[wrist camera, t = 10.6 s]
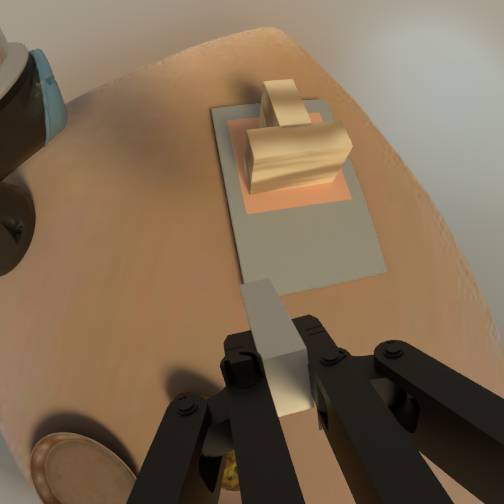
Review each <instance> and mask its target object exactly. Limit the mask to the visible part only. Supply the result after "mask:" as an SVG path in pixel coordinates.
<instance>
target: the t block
mask: <svg viewBox="0 0 504 504" xmlns="http://www.w3.org/2000/svg"><path fill="white" fill-rule="evenodd" d="M258 124H259V127H260V128H258V129H251V130H246V143H245V156H244V174H245V178H246V182H247V186H248V190H249V194H250V195H254V194H259V193H265V192H271V191H277V190H284V189H290V188H296V187H303V186H310V185H316V184H323V183H330V182H333V181H334V179H335V177H336V176H337V174H338V172H339V170H340V168H341V167H342V165H343V163H344V161H345V160H346V158H347V156H348V154H349V152H350V151H351V149H352V147H353V145H352V143H351V141H350V139H349V136H348V134H347V132H346V130H345V128H344V125H343V123H342V121H329V122H316V123H312V122H311V120H310V117H309V115H308V113H307V110H306V108H305V106H304V103H303V101H302V99H301V97H300V94H299V92H298V90H297V88H296V86H295V83H294V81H293V79H288V80H273V81H264V82H263V90H262V98H261V106H260V114H259V122H258Z"/></svg>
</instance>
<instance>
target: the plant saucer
mask: <svg viewBox="0 0 504 504" xmlns="http://www.w3.org/2000/svg"><path fill="white" fill-rule="evenodd" d="M29 466H30V467H29V469H30V476H31V480H32V483H33V486H34V488H35V491H36V493H37V495H38V496H39V498H40V500H41V501H42V503H43V504H126V502H127V500H128V498H129V495H130V493H131V491H132V488H133V486H134V484H135V481H136V479H137V478H136V476H135V475H134V473H133V472H132V471H131V469H130V468H129V467H128V466H127V465H126V463H125V462H124V461H123V460H122V459H121V458H120V457H118V456H117V455H116V454H115V453H114V452H113V451H111V450H110V449H108V448H107V447H105V446H104V445H102V444H101V443H99V442H97V441H95V440H93V439H91V438H89V437H86V436H83V435H80V434H76V433H70V432H57V433H52V434H49V435H47V436H45V437H43V438H42V439H40V440H39V441H38V442H37V443H36V445H35V446H34V448H33V450H32V453H31V456H30V463H29Z"/></svg>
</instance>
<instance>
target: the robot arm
mask: <svg viewBox="0 0 504 504" xmlns="http://www.w3.org/2000/svg"><path fill="white" fill-rule="evenodd" d="M66 123H67V111H66V107H65V104H64V101H63V98H62V95H61V93H60V90H59V87H58V85H57V82H56V81H55V80H54V75H53V73H52V70H51V67H50V65H49V63H48V60H47V58H46V56H45V54H44V53H43V51H42V50H41V49H36V50H32V51H30V52H29V51H28V49H27V47H26V46H25V45H23V44H22V43H17V42H11V43H10V42H7V40H6V38H5V36H4V34H3V32H2V30H1V28H0V276H3V275H5V274H7V273H8V272H10V271H11V270H12V269H14V268H15V267H16V266H17V264H18V263H19V262H20V261H21V259H22V258H23V257H24V255H25V253H26V251H27V249H28V247H29V245H30V243H31V240H32V236H33V233H34V227H35V210H34V206H33V203H32V201H31V199H30V198H29V196H28V195H27V194H26V193H24V192H23V191H22V190H21V189H20V188H19V187H17V186H15V185H12V184H8V183H4V182H1V181H2V180H3V179H4V178H6V177H7V176H8V175H9V174H10V173H11V172H13V171H14V170H15V169H16V168H17V167H18V166H20V165H21V164H22V163H23V162H24V161H26V160H27V159H28V158H29V157H31V156H32V155H33V154H34V153H36V152H37V151H38V150H40V149H41V148H42V147H45V146H46V145H47V144H48V142H49V141H50V140H51V139H52V138H53V137H55V136H56V135H57V134H58V133H59V132H61V131H62V130H63V128H64V127H65V125H66ZM240 289H241V294H242V298H243V303H244V307H245V311H246V316H247V320H248V324H249V329H250V330H249V331H245V332H241V333H236V334H232V335H228V336H227V338H226V340H225V341H224V350H225V357H224V358H223V359H222V361H221V363H220V368H221V371H222V374H223V378H224V381H225V384H226V387H225V388H224V389H223V390H222V391H221V392H220V393H218V394H217V395H215V396H213V397H210V398H208V399H206V400H205V398H204V397H202V396H200V395H197V394H187V395H183V396H180V397H178V398H176V399H175V400H173V401H172V402H171V403H170V405H169V406H168V407H167V410H166V412H165V414H164V417H163V419H162V421H161V423H160V426H159V428H158V430H157V433H156V435H155V437H154V439H153V442H152V444H151V446H150V449H149V451H148V453H147V456H146V458H145V460H144V463H143V465H142V467H141V470H140V472H139V474H138V477H137V479H136V481H135V484H134V486H133V488H132V491H131V493H130V495H129V498H128V500H127V502H126V504H218V500H219V495H220V490H221V485H222V481H223V476H224V471H225V466H226V461H227V457H228V456H227V453H228V452H230V451H233V450H234V452H235V459H236V466H237V473H238V480H239V486H240V493H241V499H242V504H305V501H304V498H303V495H302V492H301V489H300V486H299V482H298V479H297V476H296V473H295V470H294V466H293V463H292V460H291V457H290V454H289V450H288V447H287V444H286V441H285V437H284V434H283V431H282V428H281V424H280V421H279V418H278V417H280V416H284V415H288V414H292V413H295V412H299V411H303V410H306V409H310V408H313V407H314V402H313V399H314V401H315V404H316V406H317V413H318V422H319V430H322V427H323V429H324V432H325V434H326V436H327V438H328V441H329V443H330V445H331V448H332V450H333V452H334V454H335V457H336V459H337V461H338V463H339V466H340V468H341V470H342V473H343V475H344V477H345V479H346V482H347V484H348V486H349V488H350V491H351V493H352V495H353V497H354V500H355V502H356V504H454V503H453V501H452V500H451V498H450V497H449V495H448V494H447V492H446V491H445V489H444V488H443V486H442V485H441V483H440V482H439V480H438V479H437V478H436V476H435V475H434V473H433V472H432V470H431V469H430V467H429V466H428V464H427V463H426V461H425V460H424V458H423V457H422V456H421V454H420V453H419V451H420V452H421V453H422V454H423V455H424V456H426V457H427V458H428V459H429V460H431V461H432V462H433V463H434V464H435V465H437V466H438V467H439V468H440V469H442V470H443V471H444V472H445V473H447V474H448V475H449V476H450V477H451V478H453V479H454V480H455V481H456V482H458V483H459V484H460V485H462V486H463V487H464V488H465V489H467V490H468V491H469V492H470V493H472V494H473V495H474V496H476V497H477V498H478V499H479V500H481V501H482V502H483V503H485V504H504V399H503V398H501V397H499V396H498V395H496V394H494V393H493V392H491V391H489V390H487V389H486V388H484V387H482V386H481V385H479V384H477V383H475V382H474V381H472V380H470V379H468V378H467V377H465V376H463V375H462V374H460V373H458V372H456V371H455V370H453V369H451V368H449V367H448V366H446V365H444V364H443V363H441V362H439V361H437V360H436V359H434V358H432V357H430V356H429V355H427V354H425V353H424V352H422V351H420V350H418V349H417V348H415V347H413V346H412V345H410V344H408V343H406V342H403V341H400V340H389V341H385V342H383V343H380V344H379V345H378V346H377V347H376V348H375V350H374V355H368V356H351V354H350V353H349V352H348V351H347V350H345V349H342V348H339V347H337V346H336V344H335V343H334V341H333V340H332V338H331V337H330V335H329V334H328V333H327V331H326V330H325V328H324V327H323V326H322V324H321V322H320V321H319V320H318V319H317V318H315V317H313V316H311V315H306V316H302V317H298V318H294V319H291V318H290V316H289V314H288V312H287V310H286V309H285V307H284V305H283V303H282V301H281V299H280V297H279V295H278V294H277V292H276V290H275V288H274V286H273V284H272V282H271V281H270V279H269V278H267V279H262V280H258V281H254V282H249V283H245V284H241V285H240Z"/></svg>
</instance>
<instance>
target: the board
mask: <svg viewBox="0 0 504 504" xmlns="http://www.w3.org/2000/svg"><path fill="white" fill-rule="evenodd" d="M302 101H303V103H304V106H305V108H306V110H307V113H308V115H309V117H310V120H311V122H312V123H316V122H329V121H334V118H333V116H332V114H331V111H330V109H329V107H328V105H327V102H326V100H325V99H317V100H302ZM260 106H261V103H255V104H245V105H236V106H228V107H220V108H212V109H211V112H212V119H213V125H214V130H215V136H216V142H217V147H218V152H219V158H220V163H221V169H222V174H223V180H224V185H225V190H226V196H227V201H228V206H229V211H230V217H231V222H232V227H233V232H234V238H235V243H236V248H237V253H238V258H239V263H240V269H241V274H242V279H243V284H245V283H249V282H254V281H258V280H262V279H267V278H269V279H270V281H271V282H272V284H273V286H274V288H275V290H276V292H277V294H278V295H279V297H280V296H285V295H290V294H295V293H300V292H305V291H310V290H314V289H319V288H324V287H328V286H333V285H338V284H342V283H347V282H351V281H356V280H360V279H364V278H369V277H373V276H377V275H382V274H384V273H386V272H387V269H386V265H385V262H384V258H383V255H382V252H381V248H380V245H379V242H378V238H377V235H376V232H375V229H374V225H373V222H372V219H371V216H370V213H369V210H368V207H367V204H366V201H365V198H364V195H363V193H362V190H361V187H360V184H359V181H358V179H357V176H356V173H355V171H354V168H353V165H352V163H351V160H350V157H349V155H348V156H347V158H346V160H345V161H344V163H343V165H342V167H341V168H340V170H339V172H338V174H337V176H336V177H335V179H334V181H333V182H330V183H323V184H316V185H310V186H303V187H296V188H290V189H284V190H277V191H271V192H265V193H259V194H254V195H250V194H249V190H248V186H247V182H246V178H245V174H244V156H245V143H246V130H251V129H258V128H260V127H259V124H258V122H259V114H260Z"/></svg>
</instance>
